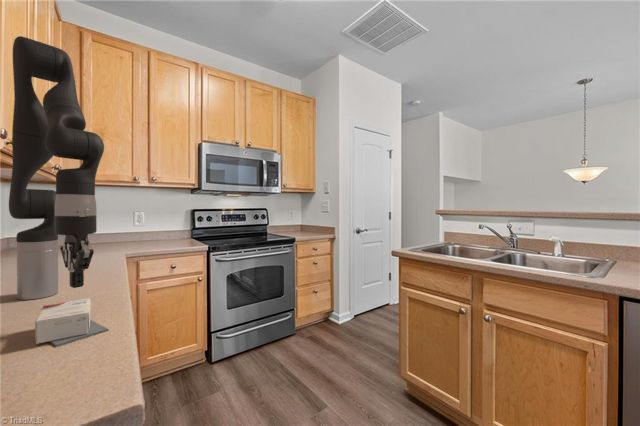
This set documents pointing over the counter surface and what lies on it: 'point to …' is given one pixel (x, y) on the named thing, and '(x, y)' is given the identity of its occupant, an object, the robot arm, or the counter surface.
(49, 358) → the counter surface
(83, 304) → the ink box
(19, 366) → the counter surface
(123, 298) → the counter surface
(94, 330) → the mat
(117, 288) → the counter surface
